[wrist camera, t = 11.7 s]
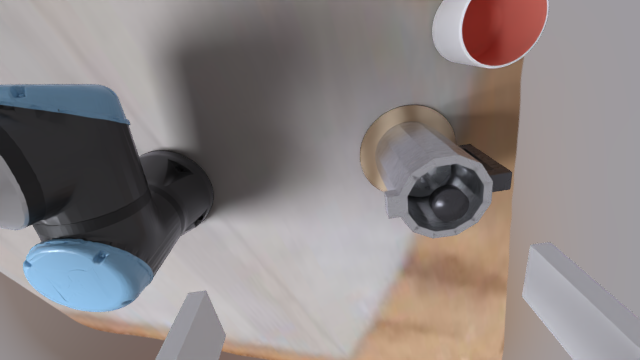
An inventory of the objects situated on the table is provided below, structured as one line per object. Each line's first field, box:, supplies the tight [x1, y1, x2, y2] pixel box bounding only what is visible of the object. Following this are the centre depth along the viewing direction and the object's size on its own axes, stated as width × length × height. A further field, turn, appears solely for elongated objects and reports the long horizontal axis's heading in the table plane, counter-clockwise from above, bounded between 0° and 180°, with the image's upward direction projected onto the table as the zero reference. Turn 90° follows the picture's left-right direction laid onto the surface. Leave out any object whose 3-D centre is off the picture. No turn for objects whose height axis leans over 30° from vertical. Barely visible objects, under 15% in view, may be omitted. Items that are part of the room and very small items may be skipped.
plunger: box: [409, 165, 469, 222], centre depth 39 cm, size 8×8×11 cm
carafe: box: [375, 121, 512, 238], centre depth 43 cm, size 16×11×16 cm
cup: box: [432, 0, 549, 68], centre depth 38 cm, size 10×10×10 cm
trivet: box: [360, 105, 456, 192], centre depth 51 cm, size 16×16×1 cm
